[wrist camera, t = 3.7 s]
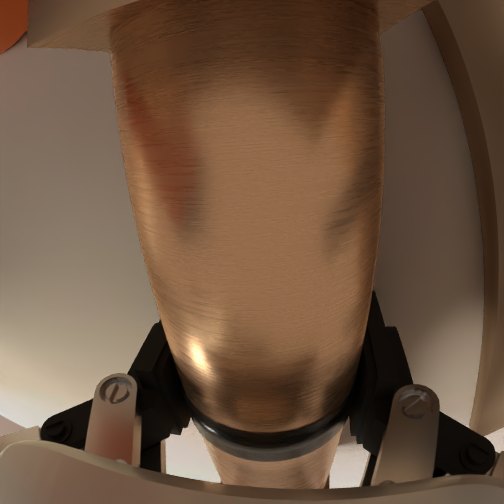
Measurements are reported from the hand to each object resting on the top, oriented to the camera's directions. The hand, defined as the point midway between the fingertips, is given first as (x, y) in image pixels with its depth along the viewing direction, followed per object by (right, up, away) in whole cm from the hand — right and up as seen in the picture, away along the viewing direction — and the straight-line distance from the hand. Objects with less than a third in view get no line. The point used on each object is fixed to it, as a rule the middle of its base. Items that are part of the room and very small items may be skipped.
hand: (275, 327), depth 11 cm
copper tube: (0, 0, 0) cm, 1 cm away
